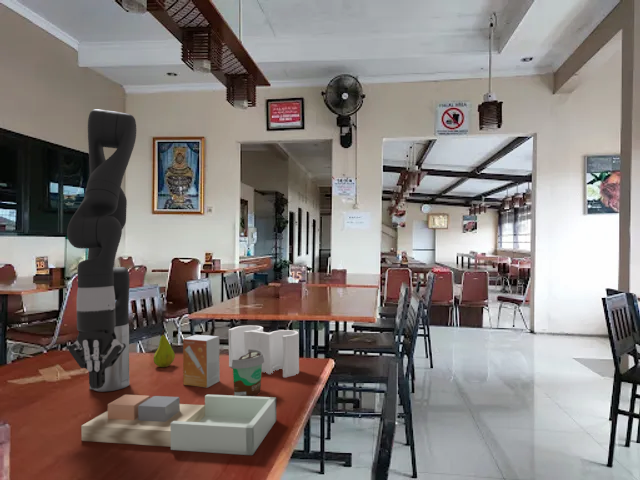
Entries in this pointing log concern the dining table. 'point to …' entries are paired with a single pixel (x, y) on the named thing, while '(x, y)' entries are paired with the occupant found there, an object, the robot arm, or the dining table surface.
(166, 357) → the fruit
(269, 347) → the bracket
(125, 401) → the tile
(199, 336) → the small box
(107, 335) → the robot arm
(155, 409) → the tile
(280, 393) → the dining table surface
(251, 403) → the tray
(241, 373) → the food container
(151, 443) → the beige slab
